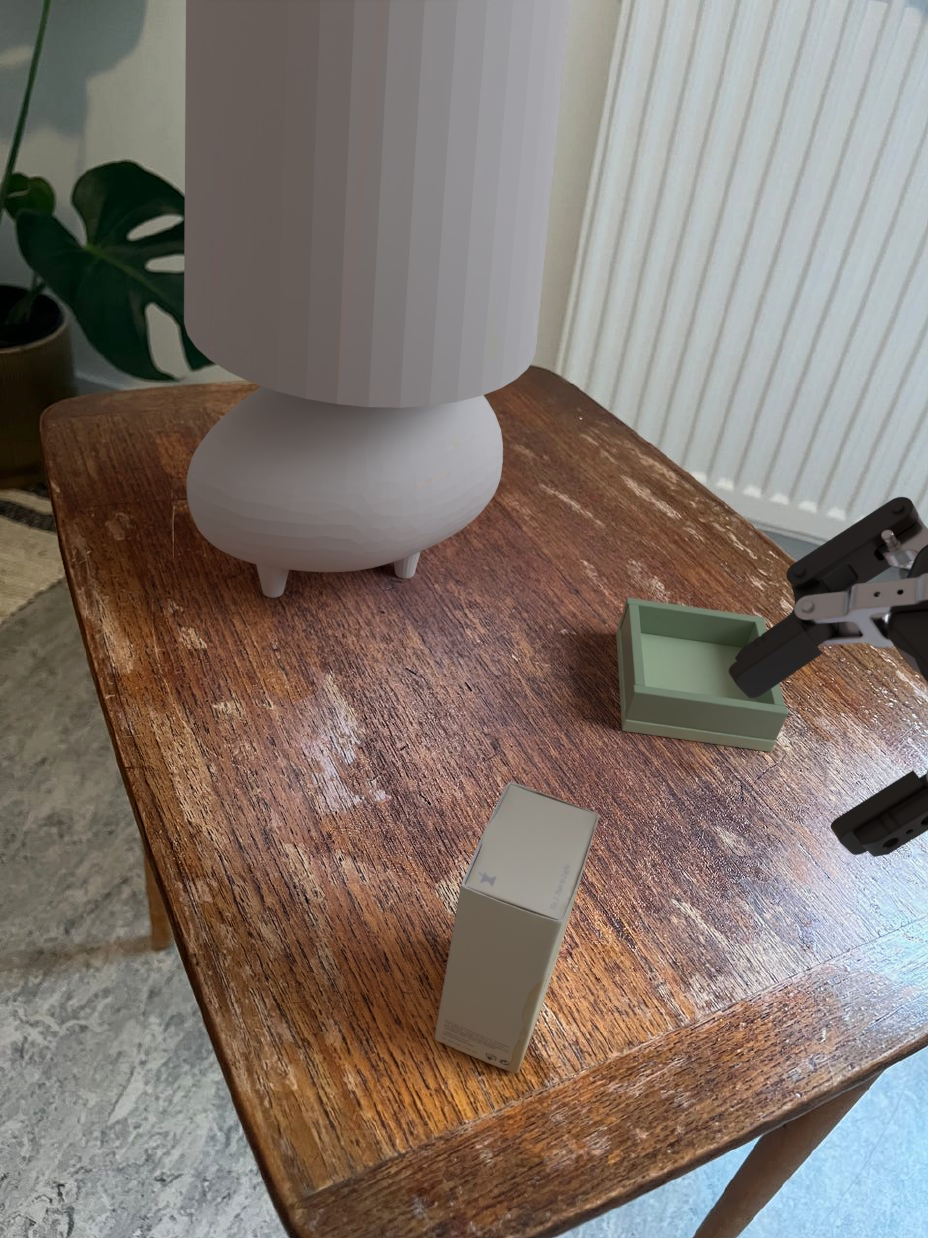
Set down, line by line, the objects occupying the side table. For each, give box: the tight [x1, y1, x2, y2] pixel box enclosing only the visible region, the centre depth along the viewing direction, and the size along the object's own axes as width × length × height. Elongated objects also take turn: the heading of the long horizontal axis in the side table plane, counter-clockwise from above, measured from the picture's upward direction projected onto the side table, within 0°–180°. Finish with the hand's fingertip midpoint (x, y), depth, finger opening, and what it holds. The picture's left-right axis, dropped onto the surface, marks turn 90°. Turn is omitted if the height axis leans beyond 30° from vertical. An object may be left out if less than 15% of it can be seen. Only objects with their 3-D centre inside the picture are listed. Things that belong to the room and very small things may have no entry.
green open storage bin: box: [615, 597, 789, 753], centre depth 65 cm, size 10×10×4 cm
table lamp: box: [183, 0, 571, 598], centre depth 59 cm, size 23×22×40 cm
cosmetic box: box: [434, 781, 600, 1074], centre depth 43 cm, size 6×4×12 cm
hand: (786, 758), depth 40 cm, fingers open, 8 cm apart
